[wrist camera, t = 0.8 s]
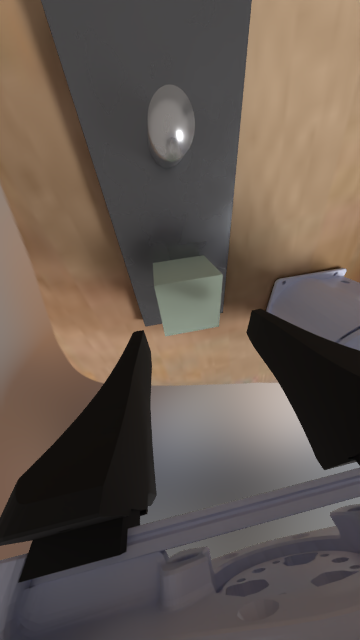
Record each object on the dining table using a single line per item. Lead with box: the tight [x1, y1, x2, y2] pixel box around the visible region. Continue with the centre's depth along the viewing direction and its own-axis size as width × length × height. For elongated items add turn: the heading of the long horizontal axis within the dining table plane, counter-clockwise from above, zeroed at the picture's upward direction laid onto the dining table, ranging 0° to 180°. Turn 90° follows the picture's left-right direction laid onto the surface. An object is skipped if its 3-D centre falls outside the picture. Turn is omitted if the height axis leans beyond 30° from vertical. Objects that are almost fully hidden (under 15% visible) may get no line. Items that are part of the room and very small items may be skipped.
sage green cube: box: [153, 255, 223, 336], centre depth 14 cm, size 5×5×5 cm
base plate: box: [41, 0, 252, 326], centre depth 13 cm, size 10×20×4 cm, turn 6°
